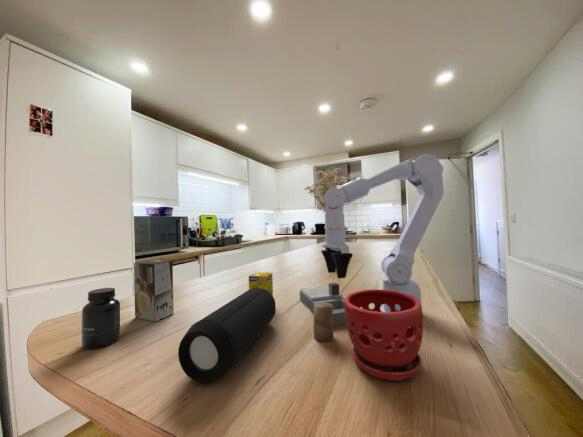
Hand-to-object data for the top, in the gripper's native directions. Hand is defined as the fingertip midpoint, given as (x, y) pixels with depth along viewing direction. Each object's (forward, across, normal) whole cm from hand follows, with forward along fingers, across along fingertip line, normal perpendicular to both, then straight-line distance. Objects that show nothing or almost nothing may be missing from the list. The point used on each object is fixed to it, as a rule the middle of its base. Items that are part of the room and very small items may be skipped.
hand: (336, 275), depth 69 cm
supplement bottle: (+11, +4, -59) cm, 60 cm away
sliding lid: (+7, -7, -3) cm, 10 cm away
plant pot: (+11, +27, -2) cm, 29 cm away
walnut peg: (+10, +14, -9) cm, 20 cm away
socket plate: (+10, -2, -3) cm, 11 cm away
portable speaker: (+11, +14, -28) cm, 33 cm away
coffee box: (+11, -10, -53) cm, 55 cm away
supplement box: (+11, -7, -22) cm, 25 cm away
